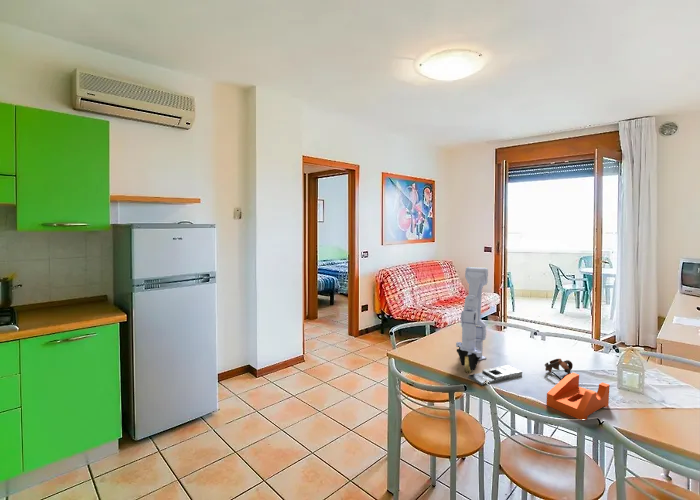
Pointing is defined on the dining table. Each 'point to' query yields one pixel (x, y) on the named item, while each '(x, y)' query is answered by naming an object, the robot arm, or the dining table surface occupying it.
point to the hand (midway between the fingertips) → (468, 367)
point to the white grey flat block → (501, 374)
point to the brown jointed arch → (556, 364)
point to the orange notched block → (577, 397)
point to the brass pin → (467, 364)
